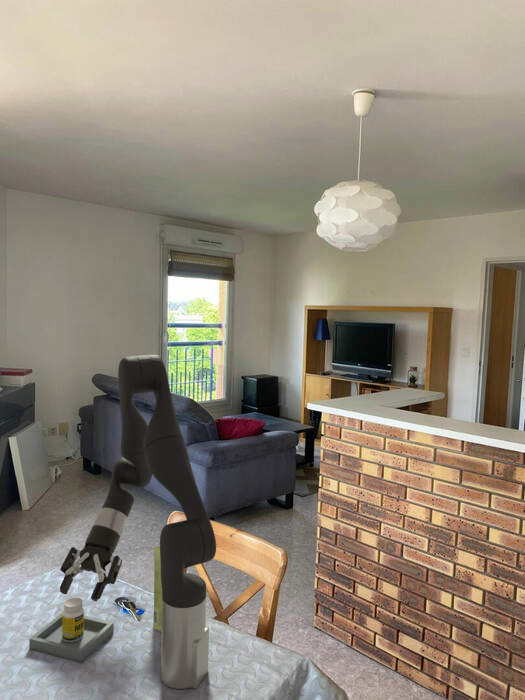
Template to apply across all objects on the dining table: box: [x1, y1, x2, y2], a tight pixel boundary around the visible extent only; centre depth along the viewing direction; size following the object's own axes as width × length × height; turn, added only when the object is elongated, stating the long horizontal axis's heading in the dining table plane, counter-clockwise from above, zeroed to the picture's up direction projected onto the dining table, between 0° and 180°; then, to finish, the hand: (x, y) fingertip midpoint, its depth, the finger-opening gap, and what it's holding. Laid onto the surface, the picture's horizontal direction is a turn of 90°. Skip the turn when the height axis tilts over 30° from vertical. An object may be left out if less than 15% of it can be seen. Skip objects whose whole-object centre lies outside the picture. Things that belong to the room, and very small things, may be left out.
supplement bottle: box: [61, 597, 85, 642], centre depth 123 cm, size 5×5×8 cm
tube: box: [152, 545, 162, 632], centre depth 129 cm, size 6×5×20 cm
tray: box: [28, 611, 115, 664], centre depth 123 cm, size 14×12×2 cm
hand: (78, 596), depth 124 cm, fingers open, 8 cm apart
